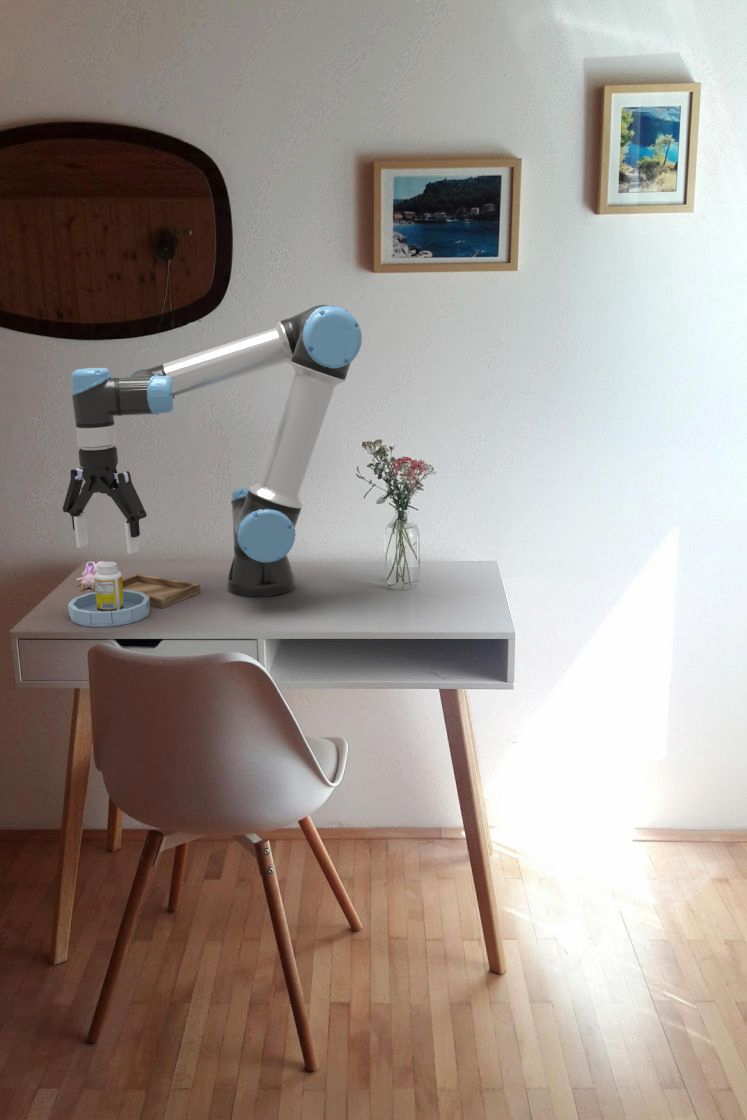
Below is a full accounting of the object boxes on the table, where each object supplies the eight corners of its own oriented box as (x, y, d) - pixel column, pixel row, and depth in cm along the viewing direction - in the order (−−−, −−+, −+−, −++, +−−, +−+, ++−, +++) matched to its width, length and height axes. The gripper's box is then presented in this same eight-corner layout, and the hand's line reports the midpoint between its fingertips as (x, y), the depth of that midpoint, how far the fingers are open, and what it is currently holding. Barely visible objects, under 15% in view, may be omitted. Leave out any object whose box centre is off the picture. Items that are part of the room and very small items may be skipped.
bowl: (165, 609, 226) (164, 596, 225) (113, 631, 212) (112, 617, 211) (107, 599, 233) (106, 586, 232) (53, 620, 220) (52, 606, 219)
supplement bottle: (115, 605, 226) (112, 558, 224) (129, 611, 222) (126, 563, 220) (91, 610, 223) (88, 563, 220) (105, 616, 219) (101, 568, 216)
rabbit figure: (102, 596, 240) (111, 568, 254) (99, 572, 238) (109, 545, 251) (74, 597, 240) (84, 569, 253) (71, 573, 237) (82, 546, 251)
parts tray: (200, 592, 238) (199, 583, 237) (162, 608, 227) (162, 599, 226) (137, 582, 246) (136, 573, 245) (98, 597, 235) (97, 588, 234)
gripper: (158, 446, 211) (167, 550, 216) (64, 440, 222) (75, 539, 228) (133, 453, 205) (143, 559, 210) (37, 446, 216) (49, 547, 222)
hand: (107, 549), depth 219 cm, fingers open, 13 cm apart
